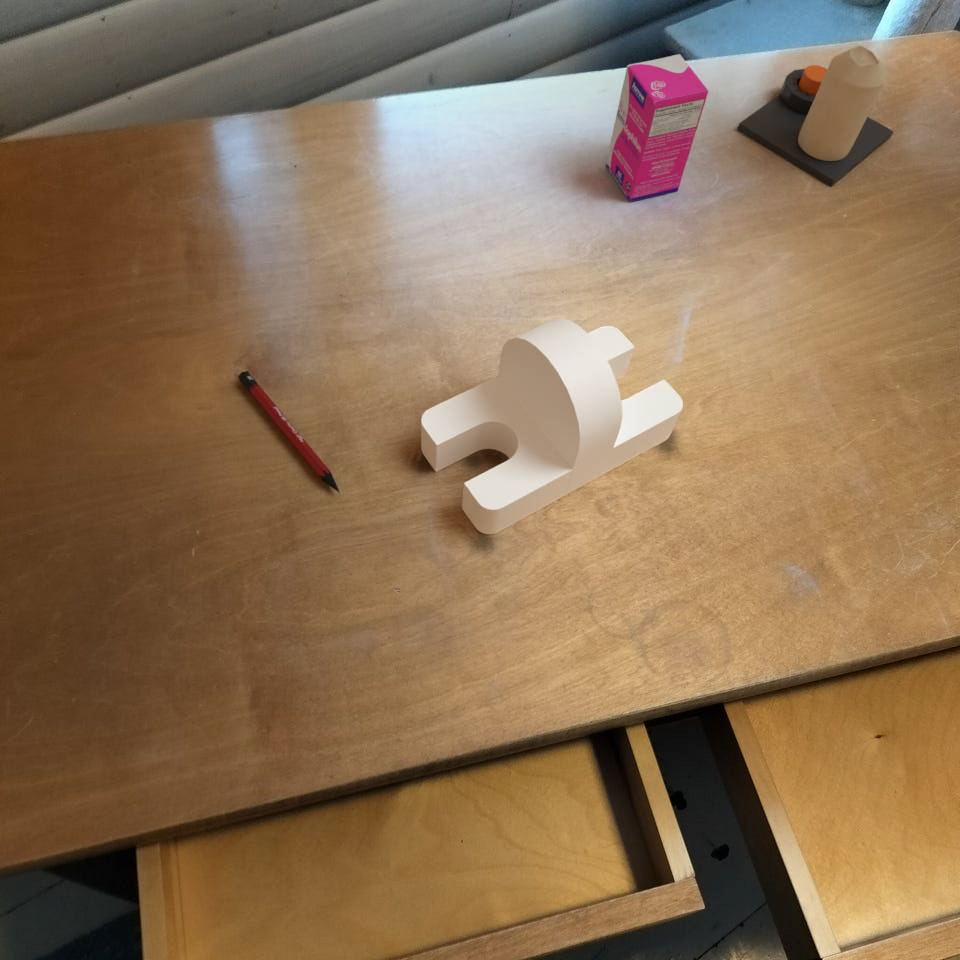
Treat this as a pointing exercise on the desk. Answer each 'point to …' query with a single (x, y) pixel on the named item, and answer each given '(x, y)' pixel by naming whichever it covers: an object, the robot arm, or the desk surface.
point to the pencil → (287, 429)
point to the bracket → (547, 421)
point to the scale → (783, 125)
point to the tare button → (812, 79)
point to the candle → (842, 104)
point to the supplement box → (655, 126)
